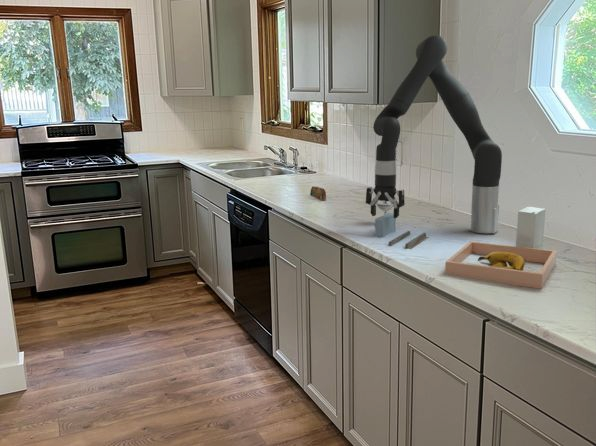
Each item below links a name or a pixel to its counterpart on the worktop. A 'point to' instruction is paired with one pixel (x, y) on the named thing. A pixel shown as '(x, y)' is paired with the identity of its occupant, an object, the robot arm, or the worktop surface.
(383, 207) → the wineglass
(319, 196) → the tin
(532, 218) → the skincare box
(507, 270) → the fruit tray rim
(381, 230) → the door panel
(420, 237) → the door track
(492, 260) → the banana
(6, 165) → the worktop surface
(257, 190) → the worktop surface
